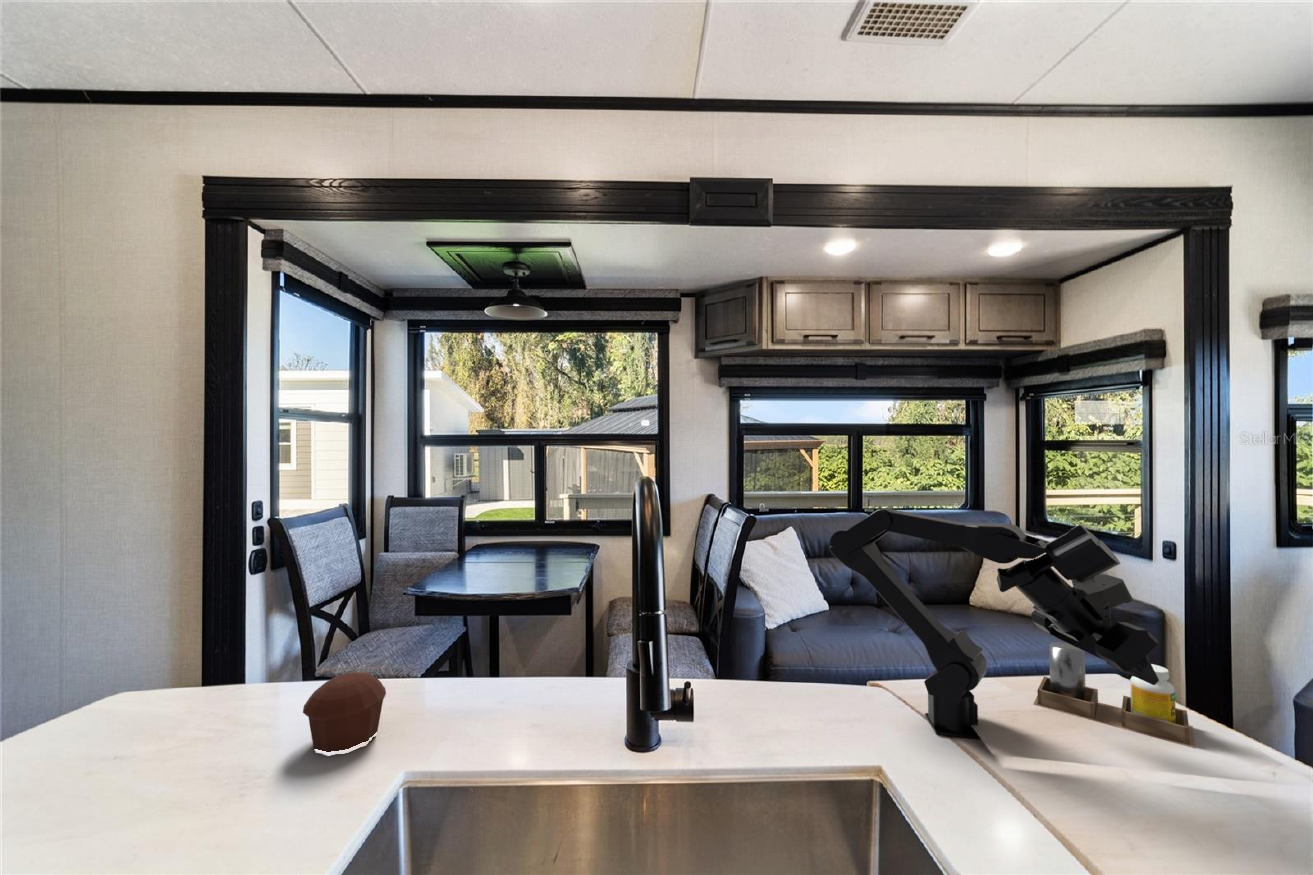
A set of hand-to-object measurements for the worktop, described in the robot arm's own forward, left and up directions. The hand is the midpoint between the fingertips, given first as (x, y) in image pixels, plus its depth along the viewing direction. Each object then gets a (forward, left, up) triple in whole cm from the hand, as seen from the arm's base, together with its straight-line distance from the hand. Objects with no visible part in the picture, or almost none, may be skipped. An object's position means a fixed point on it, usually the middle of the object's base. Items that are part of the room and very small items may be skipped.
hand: (1129, 669), depth 79 cm
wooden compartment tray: (+4, +12, -14) cm, 18 cm away
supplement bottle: (+8, +9, -12) cm, 17 cm away
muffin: (-120, -19, -14) cm, 123 cm away
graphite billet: (-1, +15, -12) cm, 19 cm away
